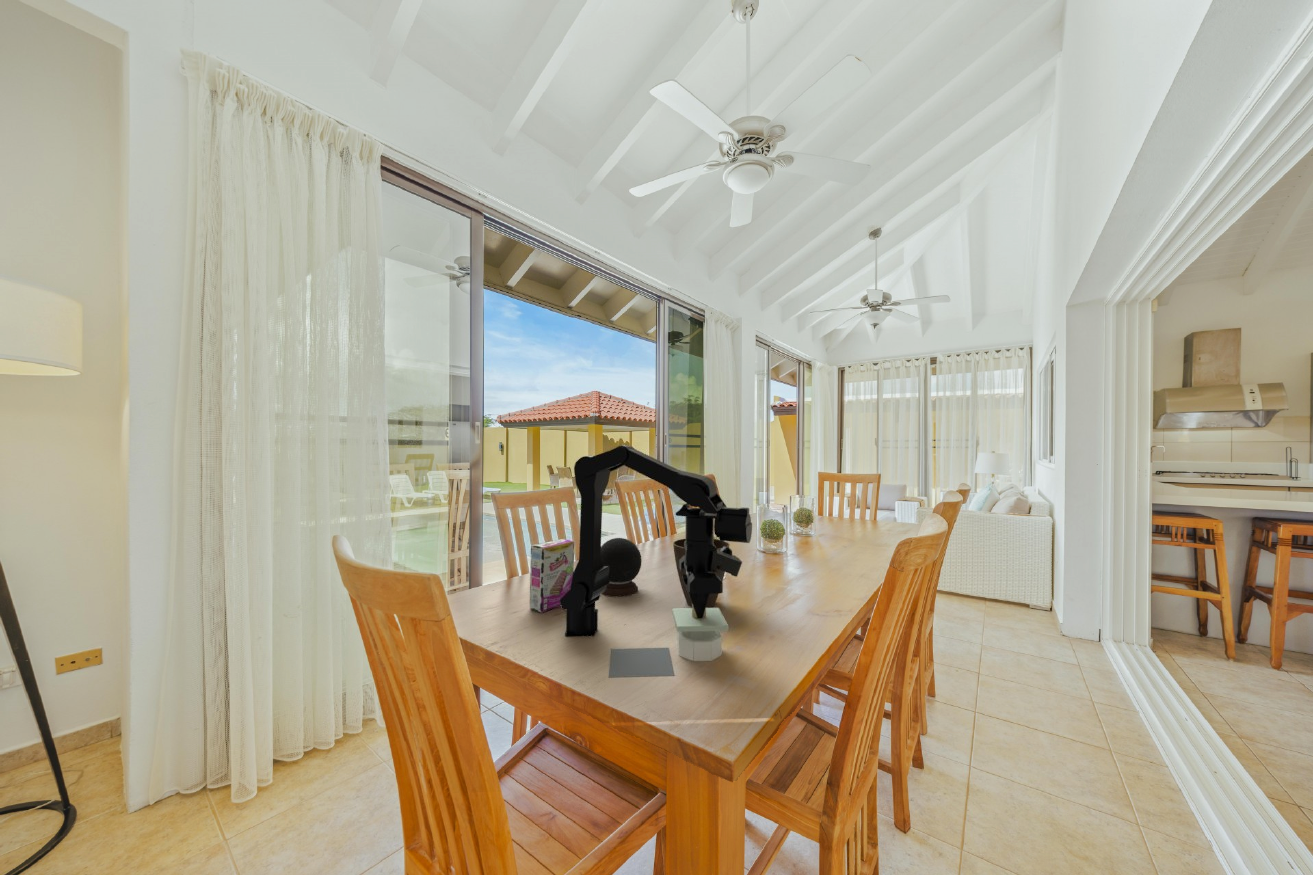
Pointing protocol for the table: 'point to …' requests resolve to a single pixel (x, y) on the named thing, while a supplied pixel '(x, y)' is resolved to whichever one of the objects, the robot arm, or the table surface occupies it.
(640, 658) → the mat
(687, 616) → the lid
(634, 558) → the black ball on stand
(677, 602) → the table surface
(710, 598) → the plant pot
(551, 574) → the candy bar box
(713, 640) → the bowl
